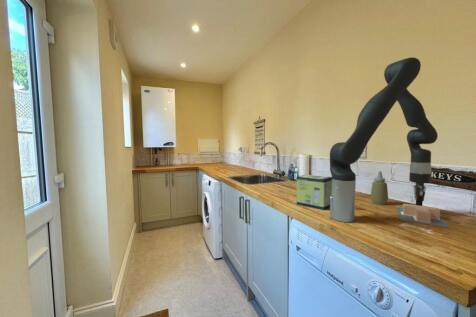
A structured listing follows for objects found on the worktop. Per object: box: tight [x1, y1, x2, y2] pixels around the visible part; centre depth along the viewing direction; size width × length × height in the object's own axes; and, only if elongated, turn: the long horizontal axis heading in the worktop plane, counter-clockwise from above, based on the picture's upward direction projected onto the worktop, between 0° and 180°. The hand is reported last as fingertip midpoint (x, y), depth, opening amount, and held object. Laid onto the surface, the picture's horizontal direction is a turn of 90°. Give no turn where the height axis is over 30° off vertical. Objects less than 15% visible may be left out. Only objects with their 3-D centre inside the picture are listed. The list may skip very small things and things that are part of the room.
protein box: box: [296, 174, 332, 211], centre depth 112 cm, size 10×16×16 cm
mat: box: [396, 206, 450, 229], centre depth 93 cm, size 15×23×1 cm, turn 146°
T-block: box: [402, 203, 441, 222], centre depth 90 cm, size 12×11×4 cm
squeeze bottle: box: [369, 170, 389, 206], centre depth 113 cm, size 8×8×18 cm
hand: (418, 208), depth 97 cm, fingers closed
